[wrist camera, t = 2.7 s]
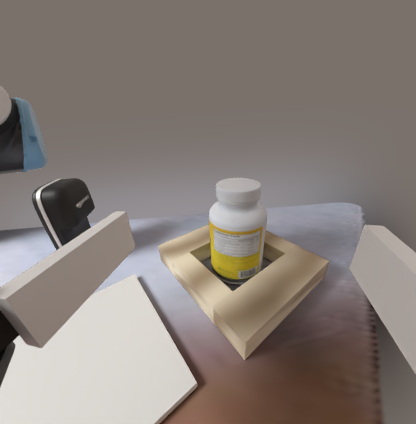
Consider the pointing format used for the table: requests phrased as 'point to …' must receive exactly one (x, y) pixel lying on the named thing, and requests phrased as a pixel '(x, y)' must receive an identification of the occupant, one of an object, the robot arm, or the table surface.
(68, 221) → the battery charger
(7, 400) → the pad
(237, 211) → the pill bottle
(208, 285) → the holder
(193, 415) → the table surface
